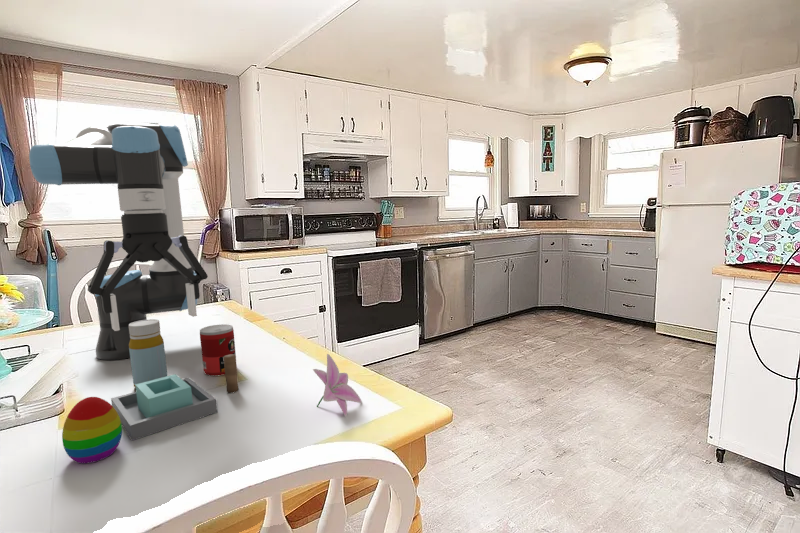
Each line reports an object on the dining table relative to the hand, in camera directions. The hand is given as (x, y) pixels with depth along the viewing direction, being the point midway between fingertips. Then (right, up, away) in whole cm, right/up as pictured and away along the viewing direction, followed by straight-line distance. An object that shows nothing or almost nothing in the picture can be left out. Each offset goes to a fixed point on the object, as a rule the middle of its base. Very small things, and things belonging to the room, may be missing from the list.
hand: (156, 322), depth 87 cm
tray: (0, -18, +3) cm, 19 cm away
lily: (+35, -18, +2) cm, 39 cm away
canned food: (+2, -16, +25) cm, 30 cm away
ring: (+1, -18, +2) cm, 18 cm away
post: (+10, -17, +12) cm, 23 cm away
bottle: (-11, -17, +18) cm, 27 cm away
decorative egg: (-3, -21, -12) cm, 25 cm away
